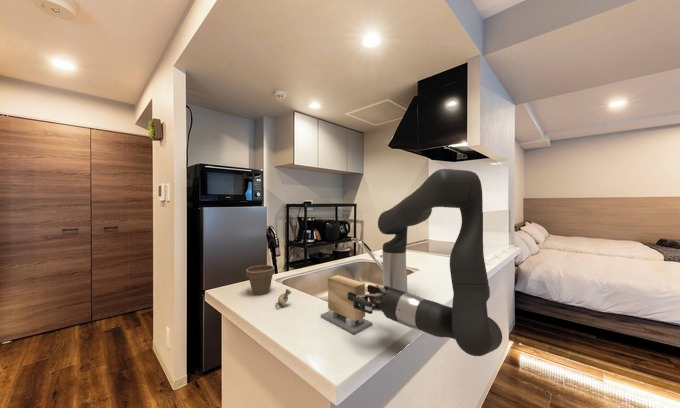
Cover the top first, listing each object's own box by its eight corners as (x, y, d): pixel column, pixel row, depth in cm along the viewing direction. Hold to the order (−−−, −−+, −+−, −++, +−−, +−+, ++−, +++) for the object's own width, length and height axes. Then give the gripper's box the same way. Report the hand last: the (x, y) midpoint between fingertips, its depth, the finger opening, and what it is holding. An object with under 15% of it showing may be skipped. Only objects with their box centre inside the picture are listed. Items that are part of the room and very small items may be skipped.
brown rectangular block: (338, 304, 85) (337, 275, 84) (365, 316, 76) (364, 283, 76) (328, 308, 82) (327, 277, 81) (354, 321, 73) (354, 287, 73)
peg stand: (338, 309, 87) (338, 301, 87) (372, 325, 76) (372, 315, 76) (320, 317, 82) (320, 308, 82) (353, 334, 71) (353, 325, 71)
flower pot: (247, 289, 108) (246, 265, 108) (274, 286, 112) (273, 263, 112) (245, 299, 97) (245, 273, 97) (275, 295, 101) (275, 270, 101)
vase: (290, 302, 94) (290, 286, 94) (292, 309, 89) (292, 292, 89) (275, 303, 92) (275, 288, 92) (276, 311, 87) (277, 294, 87)
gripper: (420, 286, 67) (373, 274, 79) (388, 301, 57) (340, 284, 69) (421, 314, 67) (374, 297, 79) (389, 333, 58) (341, 311, 69)
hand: (358, 291), depth 74 cm, fingers open, 8 cm apart
